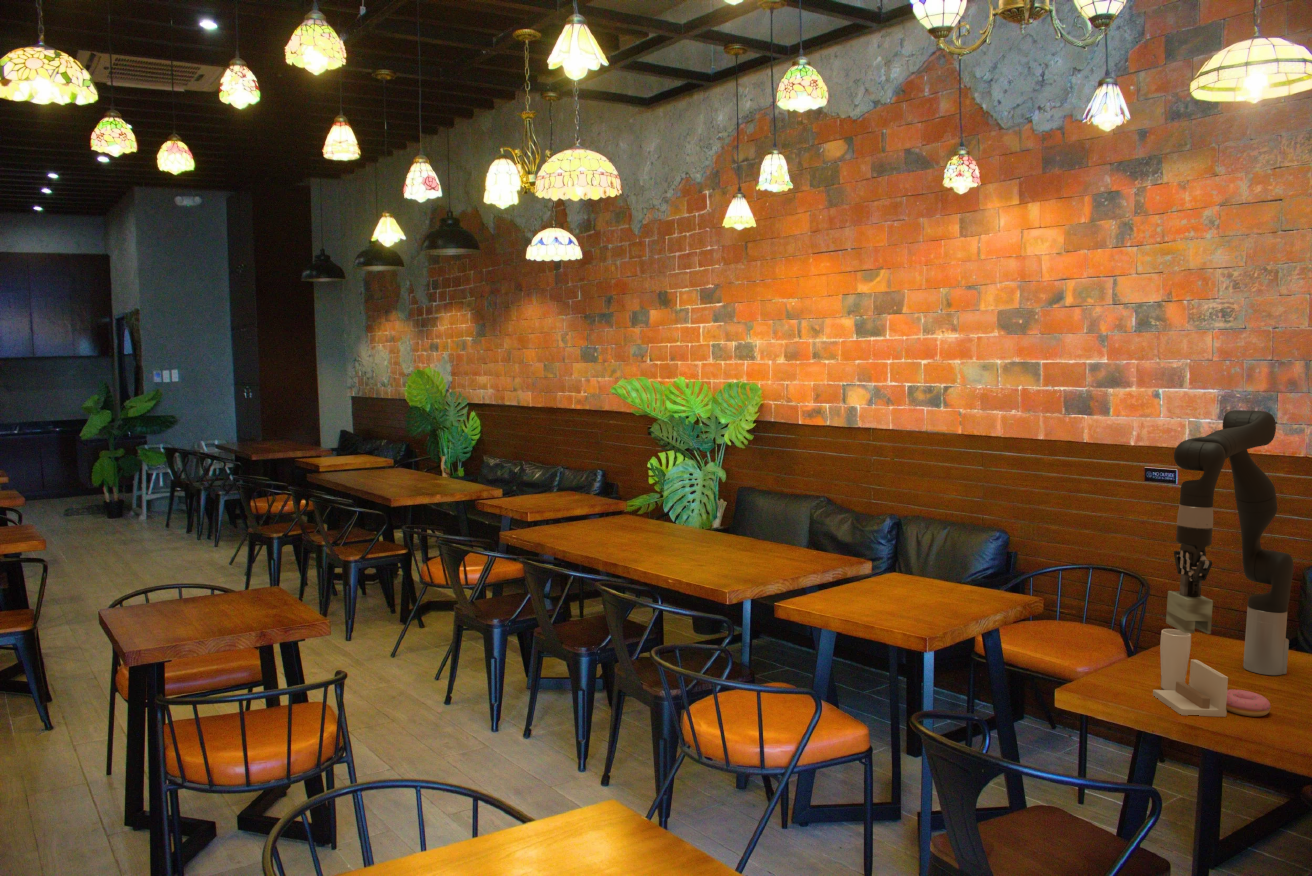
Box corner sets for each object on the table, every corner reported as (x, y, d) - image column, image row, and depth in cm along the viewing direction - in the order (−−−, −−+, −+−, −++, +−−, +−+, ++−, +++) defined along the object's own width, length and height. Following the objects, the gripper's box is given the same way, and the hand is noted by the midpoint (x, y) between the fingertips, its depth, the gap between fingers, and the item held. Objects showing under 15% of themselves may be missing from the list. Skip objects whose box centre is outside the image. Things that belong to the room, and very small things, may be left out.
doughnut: (1221, 699, 239) (1222, 683, 239) (1273, 710, 232) (1274, 693, 232) (1213, 711, 231) (1214, 694, 230) (1267, 722, 224) (1268, 705, 223)
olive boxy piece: (1190, 623, 236) (1194, 571, 235) (1210, 633, 227) (1214, 579, 226) (1165, 622, 236) (1169, 570, 236) (1185, 632, 228) (1188, 578, 227)
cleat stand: (1195, 696, 240) (1197, 659, 239) (1226, 716, 226) (1228, 677, 226) (1152, 695, 240) (1155, 658, 240) (1181, 715, 227) (1183, 676, 226)
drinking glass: (1191, 695, 241) (1195, 637, 240) (1162, 693, 242) (1166, 634, 241) (1182, 686, 248) (1186, 629, 246) (1153, 684, 249) (1157, 627, 248)
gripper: (1227, 529, 223) (1221, 603, 224) (1195, 520, 237) (1190, 589, 238) (1194, 528, 223) (1189, 601, 225) (1164, 519, 237) (1159, 588, 238)
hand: (1189, 595), depth 231 cm, fingers closed on olive boxy piece
